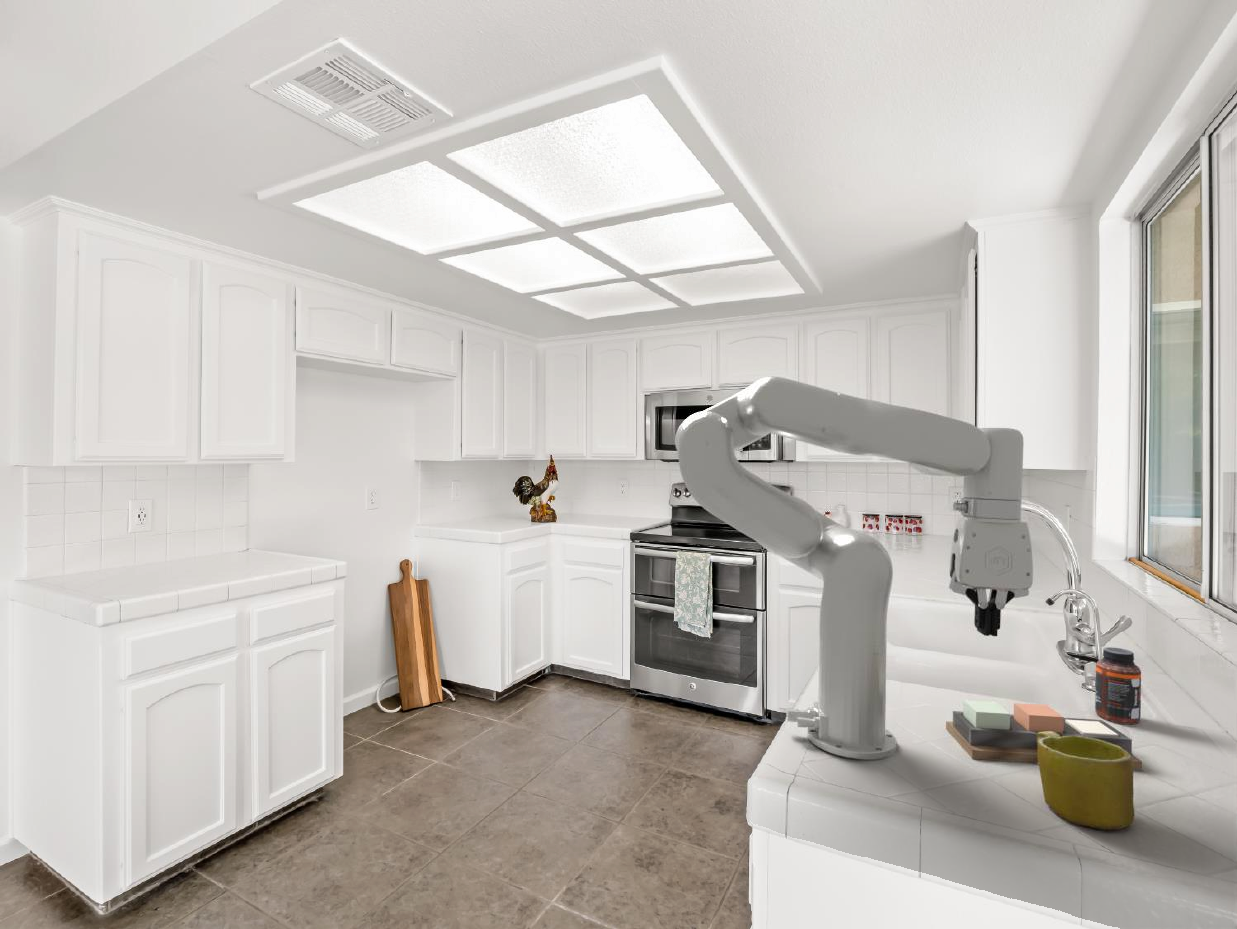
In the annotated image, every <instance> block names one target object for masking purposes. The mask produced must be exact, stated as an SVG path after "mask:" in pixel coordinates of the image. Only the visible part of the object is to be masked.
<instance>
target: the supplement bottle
mask: <svg viewBox="0 0 1237 929" xmlns="http://www.w3.org/2000/svg"><path fill="white" fill-rule="evenodd" d="M1102 650H1103V651H1102V656H1103V657H1102V658H1101V659H1099V660H1097V662H1096V663H1095V688H1094V689H1095V695H1094V696H1095V698H1094V701H1095V703H1094V704H1095V705H1094V708H1095V713H1096V715H1097V716H1099V717H1100V718H1102V719H1104V720H1106V721H1109V722H1113V723H1118V724H1123V725H1137V724H1138V723H1140V722H1141V716H1142V715H1141V708H1142V707H1141V705H1142V704H1141V703H1142V700H1141V698H1142V697H1141V696H1142V693H1141V692H1142V670H1141V668H1140V667H1139V666H1138V665H1136V663H1135V662H1134V661H1135V656H1134V655H1135V653H1134V652H1133V651H1131V650H1129V649H1124V648H1122V647H1121V648H1119V647H1111V646H1110V647H1104V648H1103V649H1102ZM1139 721H1140V722H1139Z"/></svg>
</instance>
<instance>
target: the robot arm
mask: <svg viewBox="0 0 1237 929" xmlns="http://www.w3.org/2000/svg"><path fill="white" fill-rule="evenodd" d="M769 434H772V435H776V436H780V437H784V438H788V439H791V440H794V441H799V442H802V443H806V444H809V445H812V446H817V447H820V448H824V449H827V450H831V451H834V452H838V453H843V454H849V455H853V456H854V455H855V456H864V457H865V456H866V457H867V456H869V457H878V458H887V459H891V460H897V461H902V462H906V463H908V464H909V465H910V466H911V467H912V469H914V470H916V471H917V472H920V473H922V474H924V475H929V476H938V477H939V476H940V477H943V476H945V477H946V476H947V477H958V478H960V477H961V478H962V477H963V487H962V488H963V490H962V492H963V493H962V494H963V495H962V497H961V500H960V501H954V502H953V503H952V509H953V511H954V512H958V513H960V514H961V518H960V517H958V518H957V521H956V525H955V528H954V533H953V537H952V543H951V550H950V555H949V556H950V558H949V577H950V579H951V580H950V582H949V586H948V589H949V590H950V591H951V592H953V593H957V594H959V595H963V596H966V597H967V599H969V601H970V602H971V603H972V604H973V605H974V621H973V623H974V627H975V628H976V630H977V632H978V633H980V634H981V635H984V636H985V637H990V636H992V637H998V631H999V630H1000V628H1001V621H1002V620H1001V619H1002V617H1001V616H1002V614H1001V612H1002V610H1004V609H1005V607H1006V605H1007V604H1009V602H1010V601H1012V600H1013V599H1017V598H1023V597H1028V596H1029V594H1030V591H1029V590H1030V588H1031V587H1032V586H1033V580H1034V564H1033V563H1034V562H1033V549H1032V542H1031V534H1030V529H1029V525H1028V522H1027V521H1026V522H1025V521H1022V497H1023V496H1022V495H1023V494H1022V493H1023V470H1024V468H1023V466H1024V464H1023V463H1024V436H1023V434H1022V433H1021V431H1019V430H1018V429H1015V428H1011V427H1009V428H1007V427H980V428H979V427H977V426H975V425H973V424H971V423H969V422H967V421H963V420H960V419H956V418H952V417H947V416H945V415H941V414H937V413H933V412H929V411H925V410H921V409H916V408H911V407H906V406H902V405H895V404H889V403H885V402H881V401H877V400H872V399H867V398H861V397H857V396H853V395H848V394H845V393H842V392H839V391H838V392H837V391H833V390H829V389H827V388H823V387H819V386H815V385H813V384H808V383H805V382H800V381H796V380H793V379H790V378H785V377H782V376H766V377H763V378H760V379H758V380H757V381H755V382H753V383H752V384H750V385H749V386H747V387H746V388H744V389H742V390H741V391H739V392H737V393H735V394H734V395H732V396H731V397H729V398H726V399H725V400H723V401H720V402H718V403H717V404H715V405H712V406H711V407H709V408H706V409H705V410H703V411H698V412H695V413H693V414H691V415H689V416H688V417H687V418H686V419H684V420H683V421H682V423H681V424H680V425H679V427H678V428H677V430H676V433H675V438H674V443H675V444H674V445H675V448H676V451H677V455H678V465H679V470H680V474H681V477H682V481H683V483H684V485H685V487H686V489H687V491H688V492H689V493H690V495H691V496H692V498H693V499H694V500H695V501H696V502H697V504H698V505H699V506H701V508H703V509H704V510H705V511H707V512H708V513H709V514H711V515H712V516H714V517H716V518H717V519H718V520H721V521H722V522H724V523H726V524H727V525H729V526H730V527H732V528H734V529H735V530H736V531H738V532H740V533H742V534H744V535H745V536H747V537H748V538H750V539H752V540H753V541H756V542H757V543H758V544H759V545H760V546H761V547H762V548H764V549H765V550H767V551H768V552H770V553H771V554H774V555H775V556H779V557H781V559H784V560H786V561H788V562H789V563H792V564H793V565H795V566H796V567H799V568H800V569H802V570H804V571H806V572H807V573H809V574H811V575H813V576H814V577H815V578H818V579H820V580H821V581H822V582H823V587H822V588H823V589H822V595H821V596H822V597H821V602H820V607H819V617H818V618H819V620H818V622H819V623H818V636H819V637H818V701H813V707H807V709H799V708H791V707H790V708H786V722H792V723H796V726H797V728H806V729H807V737H808V739H809V740H810V742H811V743H812V744H813V745H815V746H816V747H818V748H820V750H822V751H824V752H825V751H826V753H830V754H833V755H836V756H840V757H843V758H847V759H853V760H854V759H855V760H864V761H865V760H880V759H884V758H888V757H889V756H892V755H893V754H894V753H895V752H896V751H897V742H898V741H897V738H896V736H895V735H894V734H893V733H892V732H890V731H889V729H886V712H887V711H886V705H887V703H886V700H887V699H886V698H887V644H888V643H887V628H888V627H887V626H888V624H887V623H888V609H889V600H890V595H891V590H892V585H893V574H894V573H893V572H894V571H893V570H894V569H893V563H892V559H891V557H890V555H889V552H888V551H887V550H886V549H887V548H885V546H884V545H883V544H882V543H881V542H880V541H878V540H877V539H876V538H875V537H873V536H871V535H869V534H867V533H865V532H862V531H860V530H855V529H851V528H848V527H847V526H844V525H843V524H840V523H839V522H837V521H835V520H833V519H832V518H829V517H827V516H826V515H824V514H822V513H820V512H818V511H817V510H816V509H815V508H814V507H813V506H812V505H811V504H809V503H808V502H807V501H805V500H803V499H802V498H799V497H797V496H794V495H791V494H789V493H788V492H786V491H783V490H781V489H780V488H778V487H776V486H774V485H773V484H770V483H769V482H767V481H765V480H764V479H762V478H761V477H759V475H758V476H757V475H756V474H754V473H753V472H751V471H749V470H748V469H746V468H745V467H744V466H743V465H742V464H741V463H740V462H739V460H738V458H737V457H736V454H735V453H736V452H737V451H740V450H741V449H743V448H746V447H747V446H749V445H751V444H753V443H755V442H757V441H758V440H761V439H762V438H764V437H766V436H767V435H769ZM987 590H989V595H988V597H987Z"/></svg>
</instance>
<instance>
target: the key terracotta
mask: <svg viewBox="0 0 1237 929" xmlns="http://www.w3.org/2000/svg"><path fill="white" fill-rule="evenodd" d="M1013 715H1014V719H1015V720H1016V721H1017V722H1018V723H1019V724H1021V725H1022V726H1023V727H1024V728H1025V729H1026V730H1028V731H1037V732H1046V731H1053V732H1055V733H1063V726H1064V718H1065V717H1064V716H1063V715H1061V714H1060V713H1059V712H1058V711H1056V710H1055V709H1053V708H1052V707H1050V706H1049V705H1047V704H1040V703H1039V704H1038V703H1035V704H1034V703H1021V702H1019V703H1018V702H1014V703H1013Z"/></svg>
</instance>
